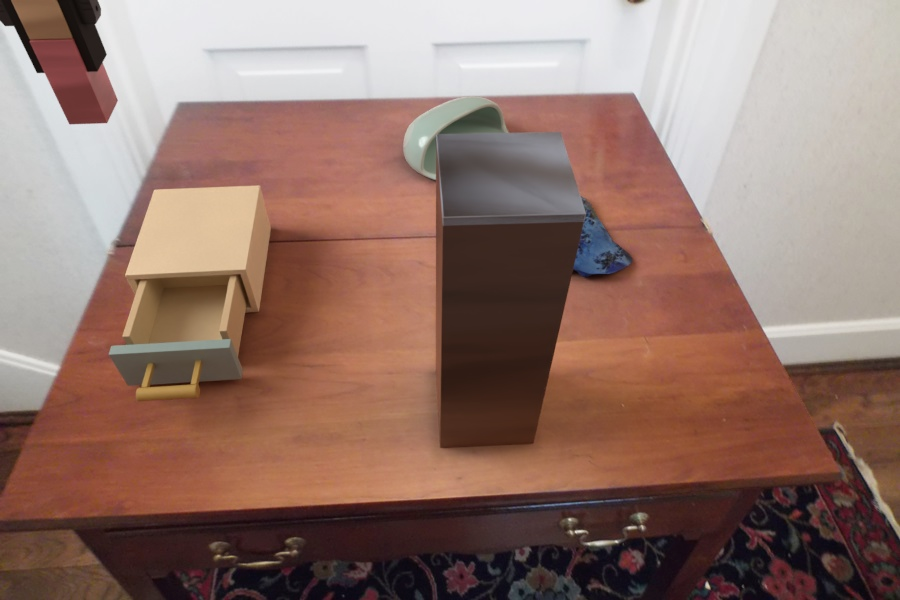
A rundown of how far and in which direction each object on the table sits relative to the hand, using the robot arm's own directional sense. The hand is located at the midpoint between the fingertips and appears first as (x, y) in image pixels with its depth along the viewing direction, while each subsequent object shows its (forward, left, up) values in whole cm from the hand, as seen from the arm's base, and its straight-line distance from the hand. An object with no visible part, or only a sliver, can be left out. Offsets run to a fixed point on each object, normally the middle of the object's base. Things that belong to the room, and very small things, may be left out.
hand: (72, 63), depth 50 cm
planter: (+51, +1, -36) cm, 62 cm away
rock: (+44, -24, -36) cm, 62 cm away
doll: (0, 0, -4) cm, 4 cm away
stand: (+15, -31, -36) cm, 50 cm away
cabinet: (+9, +9, -36) cm, 38 cm away
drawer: (-1, -1, -35) cm, 35 cm away
